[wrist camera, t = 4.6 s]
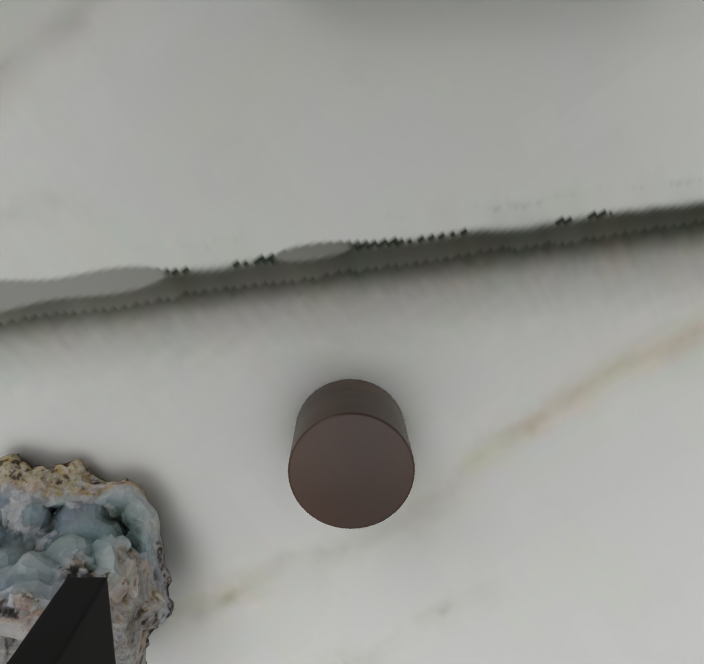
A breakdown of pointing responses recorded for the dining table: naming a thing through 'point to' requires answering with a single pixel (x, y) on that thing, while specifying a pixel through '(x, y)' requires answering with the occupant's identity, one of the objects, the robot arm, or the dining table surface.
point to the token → (350, 455)
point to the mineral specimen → (79, 551)
